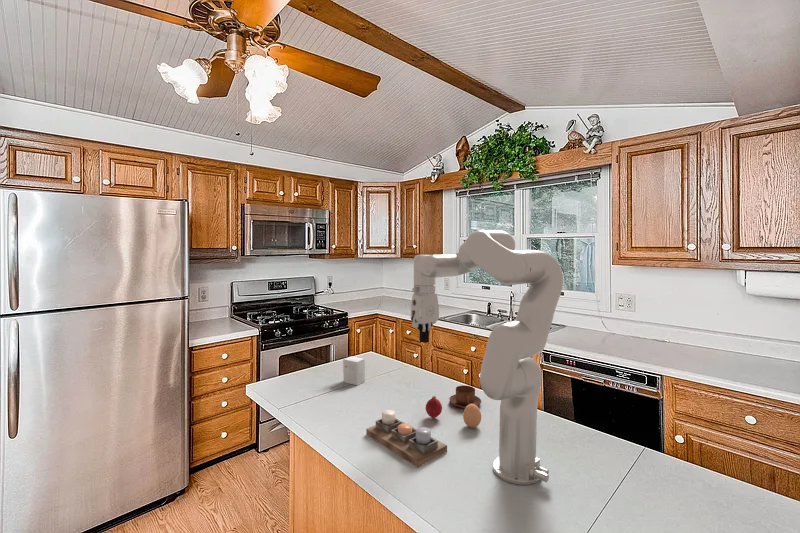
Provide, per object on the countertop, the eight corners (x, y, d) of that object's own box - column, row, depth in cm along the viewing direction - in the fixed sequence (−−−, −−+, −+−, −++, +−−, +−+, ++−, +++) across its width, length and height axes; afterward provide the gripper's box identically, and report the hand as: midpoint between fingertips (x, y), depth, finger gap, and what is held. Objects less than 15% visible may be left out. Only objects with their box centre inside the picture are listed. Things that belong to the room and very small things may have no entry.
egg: (481, 432, 127) (481, 408, 126) (462, 430, 128) (462, 407, 127) (481, 423, 133) (481, 401, 132) (463, 422, 134) (463, 399, 133)
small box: (365, 381, 172) (365, 358, 172) (357, 385, 168) (357, 361, 167) (351, 378, 177) (351, 355, 176) (343, 382, 172) (343, 358, 171)
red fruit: (441, 422, 133) (441, 400, 133) (424, 421, 135) (424, 398, 134) (442, 415, 139) (442, 393, 139) (426, 413, 140) (426, 392, 140)
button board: (447, 451, 115) (447, 438, 114) (417, 467, 107) (417, 453, 107) (394, 423, 133) (394, 412, 133) (366, 434, 125) (366, 422, 125)
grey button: (433, 441, 113) (433, 431, 113) (423, 446, 110) (423, 436, 110) (423, 435, 117) (423, 426, 116) (412, 440, 114) (412, 430, 114)
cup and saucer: (487, 408, 145) (487, 392, 145) (459, 413, 141) (459, 397, 141) (470, 396, 157) (470, 381, 156) (443, 401, 152) (444, 385, 152)
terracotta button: (415, 436, 119) (415, 426, 119) (404, 441, 117) (404, 431, 116) (405, 431, 123) (405, 421, 123) (395, 435, 120) (395, 426, 120)
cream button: (398, 422, 125) (398, 413, 125) (387, 426, 123) (387, 417, 122) (389, 417, 129) (389, 408, 129) (379, 421, 126) (379, 412, 126)
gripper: (416, 292, 127) (416, 347, 128) (446, 289, 137) (446, 340, 138) (401, 290, 133) (401, 343, 134) (431, 287, 143) (431, 336, 144)
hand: (424, 341), depth 136 cm, fingers closed
